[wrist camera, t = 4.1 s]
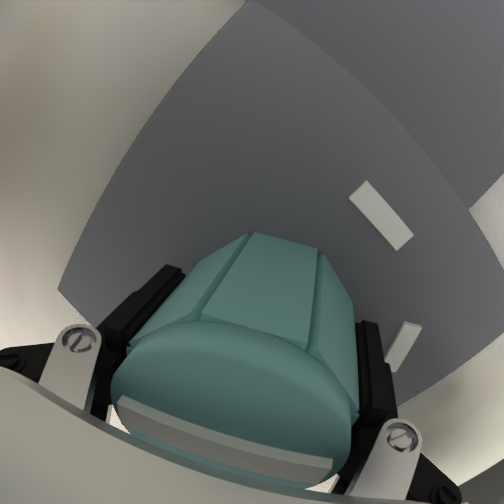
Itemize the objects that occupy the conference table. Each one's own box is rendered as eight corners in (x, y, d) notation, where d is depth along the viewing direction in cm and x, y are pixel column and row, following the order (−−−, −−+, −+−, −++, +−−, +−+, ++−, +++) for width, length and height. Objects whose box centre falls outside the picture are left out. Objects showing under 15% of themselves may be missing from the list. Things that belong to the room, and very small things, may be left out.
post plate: (63, 284, 15) (1, 332, 10) (253, 3, 8) (201, -67, 4) (274, 454, 17) (258, 520, 12) (519, 307, 10) (569, 379, 5)
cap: (188, 345, 14) (121, 456, 8) (202, 218, 11) (87, 316, 5) (319, 382, 13) (302, 513, 7) (370, 262, 10) (402, 409, 5)
